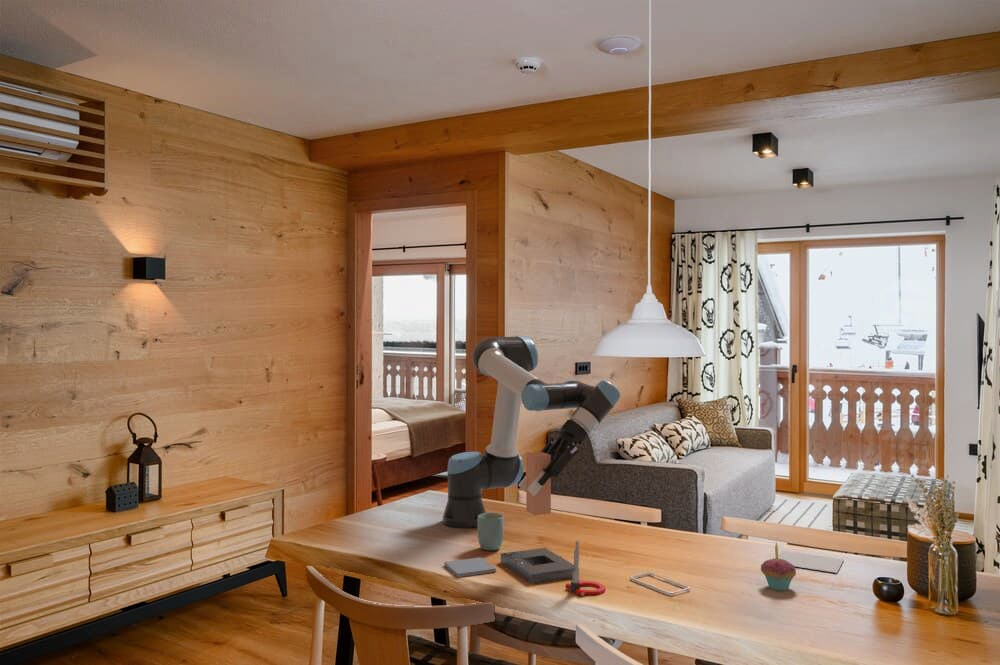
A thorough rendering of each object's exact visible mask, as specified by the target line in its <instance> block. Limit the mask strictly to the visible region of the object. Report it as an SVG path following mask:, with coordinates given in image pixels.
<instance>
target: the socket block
mask: <svg viewBox="0 0 1000 665" xmlns="http://www.w3.org/2000/svg"><path fill="white" fill-rule="evenodd" d="M501 562H502V564H503V565H504V566H505V565H506V567H507V568H508V567H509V568H508V569H510V570H511V569H512V570H513V572H514V573H515V572H516V573H515V574H517V575H518V576H519V575H520V577H521V578H522V577H523V578H522V579H523V580H525V579H526V580H527V582H528V581H529V582H530V583H529V582H528V583H529V584H531V583H535V584H540V583H539V582H542V583H547V582H546V581H548V582H555V581H560V580H561V581H562V580H567V579H572V576H573V572H574V563H572V562H571V561H569V560H567V559H565V558H563V557H562V556H560V555H559V554H557V553H555V552H553V551H552V550H549V549H548V548H547V547H541V548H534V549H533V548H532V549H526V550H525V549H524V550H517V551H510V552H509V551H508V552H502V553H500V563H501ZM512 570H511V571H512ZM578 572H579V573H580V566H579V567H578ZM526 580H525V581H526ZM554 580H555V581H554Z"/></svg>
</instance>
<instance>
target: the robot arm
mask: <svg viewBox="0 0 1000 665" xmlns="http://www.w3.org/2000/svg"><path fill="white" fill-rule="evenodd" d="M471 361H472V364H473V366H474V368H476V370H477V371H478V372H479V373H480V374H482V375H484V376H486V377H491V378H494V379H495V380H496V381H497V390H496V396H495V404H494V405H495V406H494V412H493V413H494V414H493V421H492V431H491V438H490V443H489V444H488V445H486V447H485V452H484V454H483V455H482V453H481V452H480V451H469V452H468V451H465V452H460V453H457V454H453V455H452V456H450V457H449V459H448V462H447V471H446V472H447V502H446V505H445V508H444V511H443V514H442V515H443V516H442V524H443V525H445V526H448V527H453V528H460V529H461V528H463V529H464V528H466V529H467V528H477V518H478V515H480V514H483V513H487V511H486V508H485V506H484V502H483V495H482V494H483V490H484V491H485V490H489V489H490V490H492V489H499V488H501V489H502V488H508V487H513V486H516V484H517V486H518V487H519V488H520V489H521V490H522V491H524V493H526V475H525V476H524V477H523V475H524V474H523V473H524V464H523V462H524V461H523V458H522V455H520V454H519V450H518V449H517V447H516V441H517V435H518V427H519V426H518V425H519V418H520V411H521V410H520V409H521V403H522V404H523V407H524V408H525V409H526V411H530V412H531V411H536V412H541V411H551V410H563V409H564V410H567V409H568V410H569V409H575V410H574V411H573V413H572V414H571V415H570V416H569V419H567V420H566V421H565V422H564V424H563V425H562V426H561V428H560V432H561V434H560V436H558V437H557V438H556V439H554V438H553V437H550V439H549V440H548V441H547V444H546V445H545V446H544V447H543V448H542V450H541V451H540V452H543V453H546V454H549V455H551V462H550V463H549V465H548V466H547V468H546V469H545V468H544V469H543V471H544V472H545V473H544V472H543V471H542V472H541V473H540V474H539V475H538V477H537V478H536V479H535V480H534V481H533V483H532V484H531V485H530V486H529V487H528V489H527V490H528V491H529V492H530V493H531V494H532V495H533V496H535V495H536V494H537V493H538V491H539V490H540V489H541V488H542V487H543V485H544V484H545V483H546V482H547V481H548V479H549V478H551V479H553V477H555V478H557V477H558V476H559V474H560V473H561V472H562V471H563V469H564V468H565V467H566V466H567V465H568V464H569V463H570V461H571V460H572V459H573V458H574V457H575V456H576V455H577V454H578V453H579V452H580V450H579V449H578V447H580V446H583V444H585V442H586V441H587V439H588V438H589V435H592V433H593V432H594V431H596V428H597V427H598V426H599V424H600V423H602V421H603V420H604V419H605V418H606V416H607V415H608V414H609V412H611V410H612V409H614V407H615V406H616V404H617V403H618V402H619V400H620V399H621V392H620V390H619V389H618V388H617V387H616V386H615V385H614V384H613V383H611V382H610V381H608V380H604V379H603V380H600V381H598V383H596V385H595V386H594V385H591V384H590V385H589V384H588V383H584V382H582V381H579V380H573V379H570V380H566V381H565V382H563V383H561V382H560V383H547V382H544V381H543V380H541V379H540V378H538V377H537V376H535V375H534V374H532V373H530V372H532V371H534V370H535V369H536V368H537V367H538V362H539V354H538V350H537V347H536V344H535V343H534V342H533V340H532V339H531V338H529V337H526V336H524V337H523V336H489V337H484V338H483V339H481V340H480V341H479V342H478V343H477V344H476V345H475V346H474V348H473V350H472V352H471ZM577 446H578V447H577ZM522 477H523V479H522ZM521 479H522V480H521Z"/></svg>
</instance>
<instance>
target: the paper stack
mask: <svg viewBox="0 0 1000 665" xmlns="http://www.w3.org/2000/svg"><path fill="white" fill-rule="evenodd" d="M778 558H779V559H783V560H786V561H787V562H789V563H791V564H792V565H793V566H794V567H795V568H796V567H797V568H802V569H803V568H804V569H809V570H815V571H823V572H828V573H835V574H837V573H838V572H839V570H840V568H841V566H842V564H843V563H844V560H845V559H844V558H836V557H832V556H831V557H829V556H823V555H816V554H810V553H801V552H795V551H790V550H789V551H788V550H781V552H780V553H778Z"/></svg>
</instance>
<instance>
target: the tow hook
mask: <svg viewBox="0 0 1000 665" xmlns="http://www.w3.org/2000/svg"><path fill="white" fill-rule="evenodd" d="M579 542H580V541H577V540H576V541H575V545H574V546H575V549H574V551H573V552H574V553H573V555H574V556H573V565H574V572H573V576H572V578H571V579H572V581H570V583H569V582H567V583H566V584H565V586H564V587H565V589H566V590H568V591H570V592H571V593H573V594H575V595H578V596H581V597H582V596H583V597H585V595H589V596H590V595H591V596H592V595H594V594H596V595H601V594H600V593H602V594H604V593H605V592H606V585H604V584H603V583H599V582H597V581H590V580H589V581H588V580H581V581H580V571H579V572H578V567H579V568H580V566H579V563H580V562H579V561H580V549H579V544H580V543H579ZM583 586H584V587H585V586H587V587H588V586H589V587H594V586H596V587H595V588H596V589H585V588H582V589H581V587H583ZM597 587H598V588H597ZM603 592H604V593H603Z"/></svg>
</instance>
